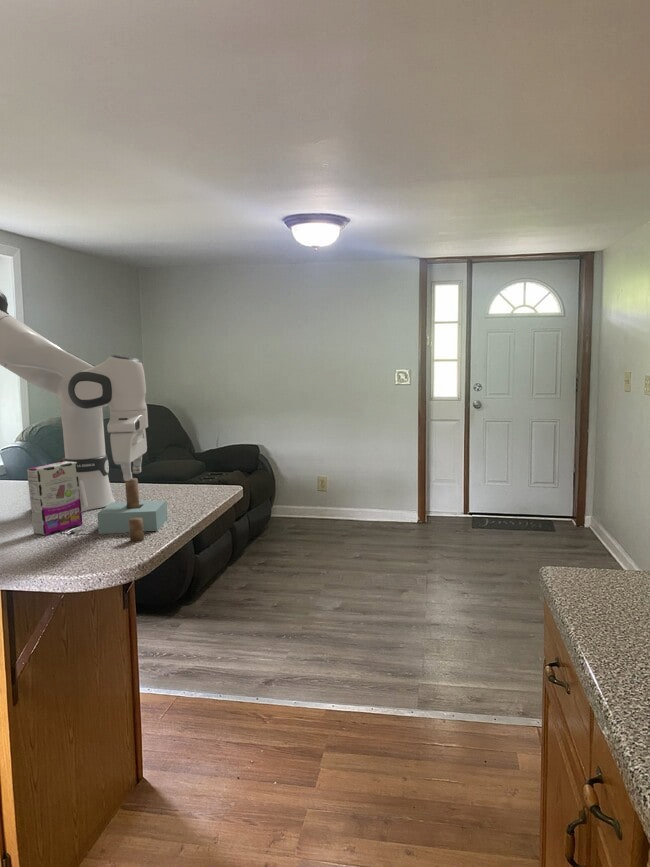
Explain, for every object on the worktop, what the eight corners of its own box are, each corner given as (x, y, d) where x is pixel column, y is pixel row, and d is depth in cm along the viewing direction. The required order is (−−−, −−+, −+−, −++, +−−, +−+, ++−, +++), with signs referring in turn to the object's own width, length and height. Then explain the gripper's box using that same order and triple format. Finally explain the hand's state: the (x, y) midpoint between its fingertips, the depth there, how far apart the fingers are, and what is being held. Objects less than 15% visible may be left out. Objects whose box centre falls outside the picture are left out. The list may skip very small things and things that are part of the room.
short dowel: (129, 542, 150) (127, 520, 149) (132, 538, 153) (130, 517, 152) (142, 541, 150) (140, 520, 149) (145, 538, 153) (143, 517, 152)
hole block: (98, 533, 158) (97, 513, 157) (113, 521, 170) (111, 502, 169) (157, 531, 158) (155, 511, 158) (167, 519, 170) (166, 500, 170)
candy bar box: (70, 523, 170) (65, 460, 168) (83, 525, 167) (78, 461, 165) (31, 533, 160) (25, 467, 158) (44, 536, 158) (38, 469, 156)
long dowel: (127, 528, 163) (123, 480, 161) (130, 524, 166) (126, 478, 164) (139, 527, 163) (135, 480, 161) (142, 524, 166) (138, 477, 164)
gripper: (126, 417, 172) (130, 469, 173) (104, 426, 151) (108, 485, 153) (151, 416, 172) (154, 468, 174) (132, 425, 152) (136, 484, 153)
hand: (132, 476), depth 163 cm, fingers open, 8 cm apart
